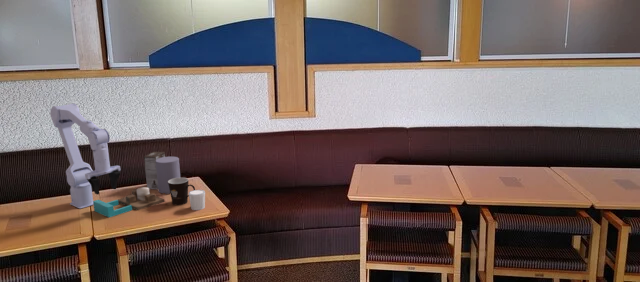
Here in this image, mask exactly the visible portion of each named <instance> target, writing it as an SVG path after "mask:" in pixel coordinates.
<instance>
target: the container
mask: <svg viewBox="0 0 640 282" xmlns="http://www.w3.org/2000/svg"><path fill="white" fill-rule="evenodd" d="M156 170H157V181H158V189H157V191H158V193H160V194H163V193H165V194H168V195H169V194H170V189H169V185H168V181H169V180H171V179H174V178H181V169H180V158H179V157H178V156H165V157H162V158H158V159H156ZM165 194H164V195H165ZM170 195H171V194H170Z"/></svg>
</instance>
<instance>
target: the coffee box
mask: <svg viewBox="0 0 640 282" xmlns="http://www.w3.org/2000/svg"><path fill="white" fill-rule="evenodd" d="M162 157H166V152H165V151H152V152H150V153H148V154H146V155H144V156H143V161H144V162H143V163H144V171H145V178H146V187H148V188H149V190H158V181H157V170H156V159H158V158H162Z"/></svg>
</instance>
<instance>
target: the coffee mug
mask: <svg viewBox="0 0 640 282" xmlns="http://www.w3.org/2000/svg"><path fill="white" fill-rule="evenodd" d="M168 185H169V189H170V197H171V203H172V205H174V206H182V205H186V204H187V203H188V202H189V200H188V199H189V187H192V188H193V190H196V188H195V186H194V185H193V184H191V183H190V184H189V178H187V177H180V178H174V179H171V180H169V181H168Z"/></svg>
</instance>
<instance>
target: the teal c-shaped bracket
mask: <svg viewBox="0 0 640 282" xmlns="http://www.w3.org/2000/svg"><path fill="white" fill-rule="evenodd" d="M93 204H94V205H93V211H94V212H96V213H97V214H100V215H102V216H104V217H107V218H112V217H115V216H118V215H121V214H124V213H127V212H131V211H132V210H133V208H132V206H131V205H129V206H126V205H125V206H123V207H120V208H117V209H114V207H115V206H118V205H120V203H119V202H118V199H114V200H111V201H107V202H105V201H102V200H100V199H97V200H93Z"/></svg>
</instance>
